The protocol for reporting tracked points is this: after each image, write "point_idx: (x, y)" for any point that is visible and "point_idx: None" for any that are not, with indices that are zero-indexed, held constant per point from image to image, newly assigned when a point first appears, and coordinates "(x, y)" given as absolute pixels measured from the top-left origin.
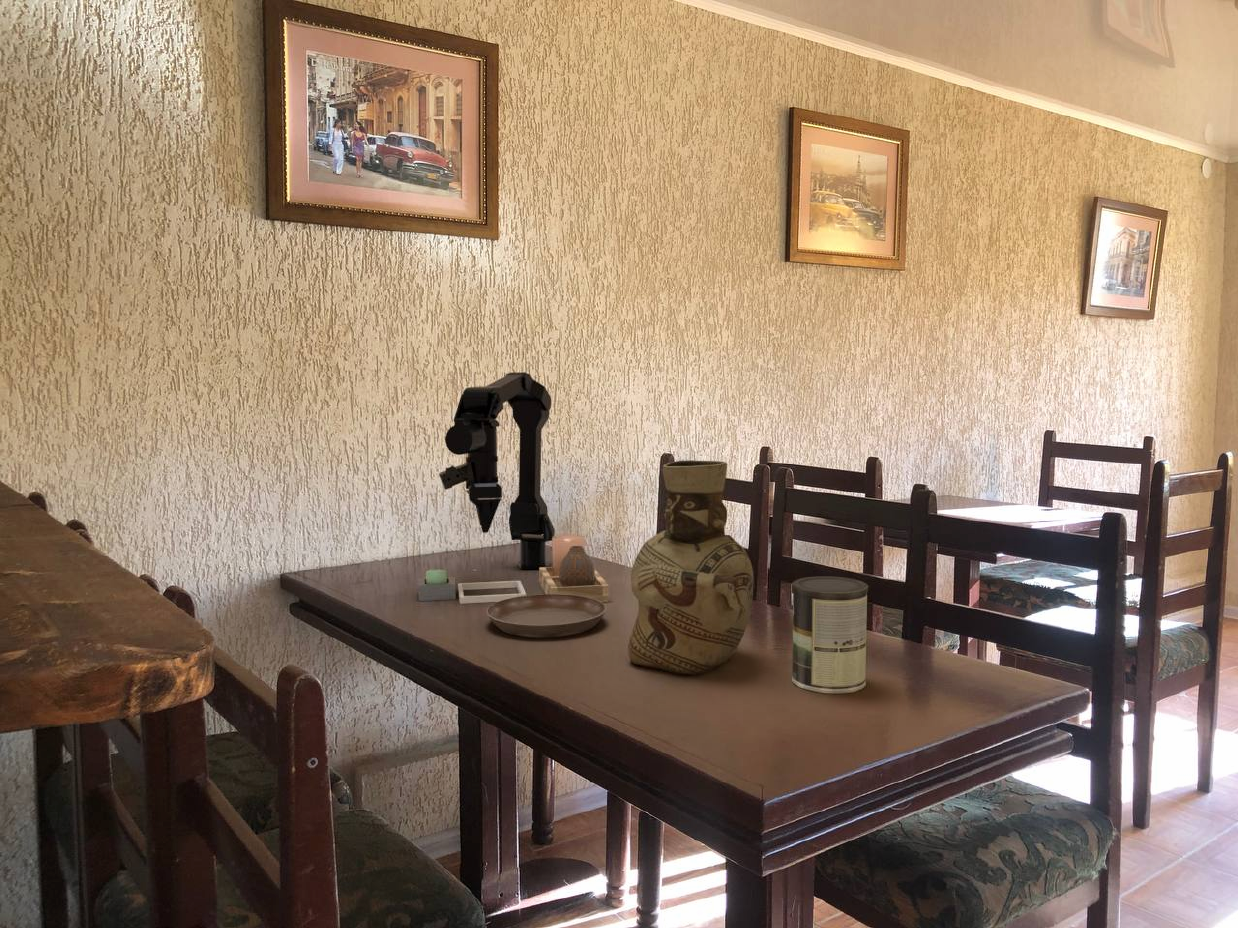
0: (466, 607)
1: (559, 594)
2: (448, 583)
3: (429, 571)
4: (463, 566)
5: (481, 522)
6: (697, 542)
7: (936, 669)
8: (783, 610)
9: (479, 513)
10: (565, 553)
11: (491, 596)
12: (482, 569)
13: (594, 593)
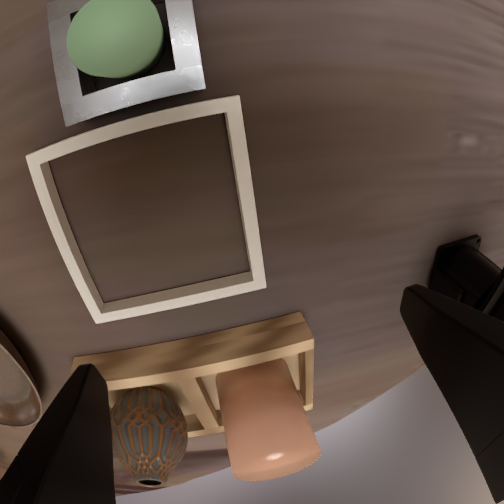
0: (3, 183)
1: (35, 392)
2: (74, 97)
3: (115, 2)
4: (496, 117)
5: (43, 423)
6: None
7: None
8: (133, 493)
9: (5, 480)
10: (227, 439)
11: (57, 244)
12: (468, 159)
13: None
